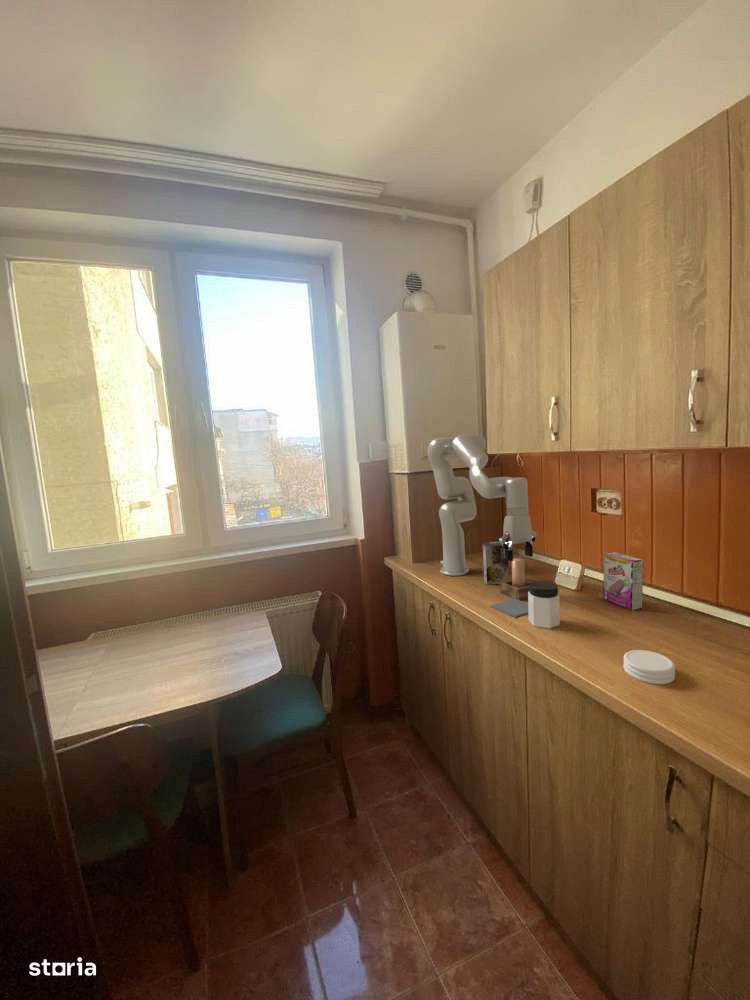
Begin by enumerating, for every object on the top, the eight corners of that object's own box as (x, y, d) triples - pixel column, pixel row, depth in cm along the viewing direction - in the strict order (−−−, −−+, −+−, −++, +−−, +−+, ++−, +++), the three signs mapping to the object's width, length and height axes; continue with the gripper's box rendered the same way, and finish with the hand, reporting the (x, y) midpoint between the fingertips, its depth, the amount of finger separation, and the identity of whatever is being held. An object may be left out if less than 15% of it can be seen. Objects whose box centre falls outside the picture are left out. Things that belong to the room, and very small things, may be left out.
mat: (490, 606, 139) (490, 605, 139) (514, 600, 143) (514, 598, 143) (514, 617, 129) (514, 615, 129) (539, 609, 133) (539, 608, 133)
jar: (563, 628, 119) (563, 589, 118) (535, 629, 120) (535, 590, 118) (551, 616, 128) (551, 579, 127) (525, 617, 129) (525, 581, 127)
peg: (509, 593, 150) (509, 559, 148) (518, 591, 152) (517, 557, 150) (518, 597, 146) (518, 562, 144) (527, 594, 148) (527, 560, 146)
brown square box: (499, 592, 151) (499, 582, 151) (518, 587, 155) (518, 577, 155) (518, 600, 143) (518, 589, 142) (538, 595, 147) (537, 584, 146)
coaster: (644, 687, 89) (644, 673, 89) (614, 664, 99) (614, 651, 99) (686, 683, 90) (686, 668, 90) (652, 660, 100) (652, 647, 99)
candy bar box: (602, 599, 139) (602, 553, 137) (613, 597, 140) (613, 551, 138) (631, 611, 128) (632, 561, 126) (643, 608, 130) (644, 559, 128)
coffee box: (506, 579, 166) (505, 540, 164) (509, 584, 160) (508, 544, 158) (483, 579, 167) (482, 541, 165) (486, 584, 161) (485, 545, 159)
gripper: (526, 508, 152) (528, 552, 154) (491, 513, 145) (493, 560, 146) (542, 509, 145) (544, 556, 147) (506, 515, 138) (508, 564, 140)
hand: (519, 558), depth 147 cm, fingers open, 9 cm apart
